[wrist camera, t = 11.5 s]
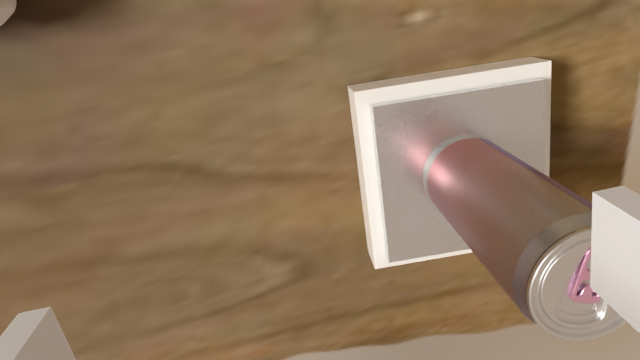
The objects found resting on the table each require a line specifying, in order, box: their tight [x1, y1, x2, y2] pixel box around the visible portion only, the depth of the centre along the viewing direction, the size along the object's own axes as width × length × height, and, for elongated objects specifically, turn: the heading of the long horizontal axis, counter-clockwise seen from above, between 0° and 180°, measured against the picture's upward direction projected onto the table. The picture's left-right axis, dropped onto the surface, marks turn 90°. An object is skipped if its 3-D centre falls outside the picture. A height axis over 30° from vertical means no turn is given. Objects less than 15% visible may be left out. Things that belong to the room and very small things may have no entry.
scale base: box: [348, 57, 552, 269], centre depth 37 cm, size 14×14×3 cm
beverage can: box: [427, 138, 627, 341], centre depth 28 cm, size 6×6×15 cm
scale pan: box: [370, 77, 546, 263], centre depth 35 cm, size 12×12×1 cm
